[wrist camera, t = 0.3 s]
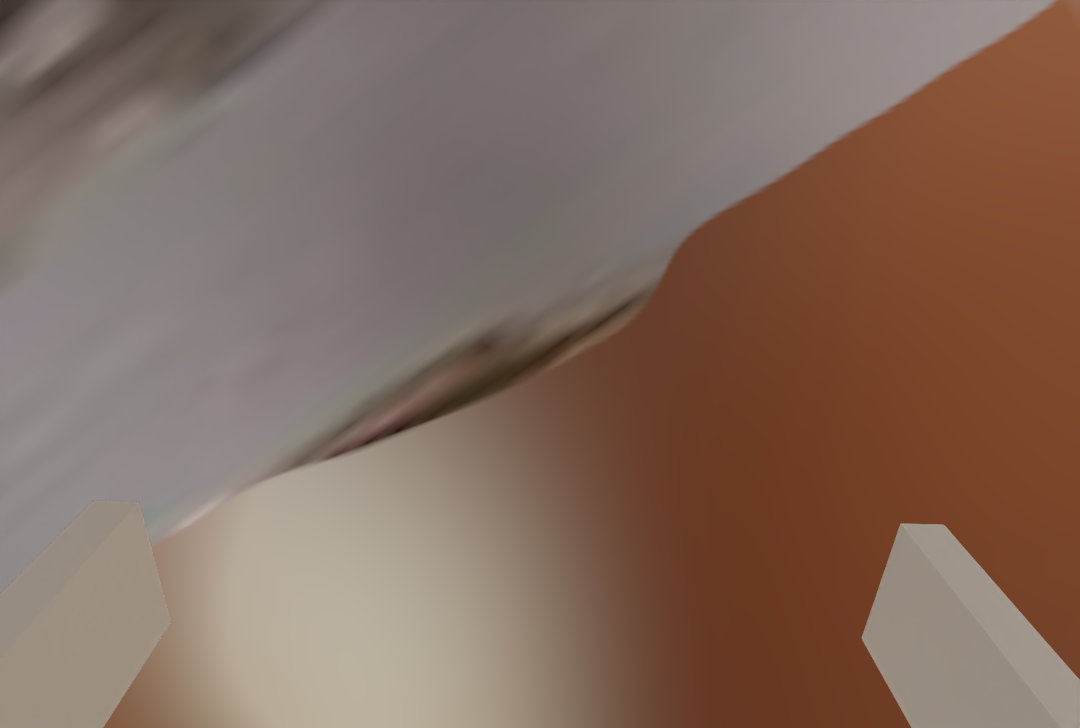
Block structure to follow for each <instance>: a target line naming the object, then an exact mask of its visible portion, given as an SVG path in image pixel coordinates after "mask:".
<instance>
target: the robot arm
mask: <svg viewBox="0 0 1080 728" xmlns="http://www.w3.org/2000/svg"><path fill="white" fill-rule="evenodd" d="M170 623H171V620H170V616H169V613H168V609H167V606H166V601H165V598H164V594H163V590H162V586H161V583H160V579H159V575H158V571H157V568H156V564H155V560H154V557H153V553H152V549H151V545H150V541H149V538H148V534H147V530H146V526H145V523H144V519H143V515H142V511H141V508H140V504H139V502H118V501H93V502H92V503H91V504H90V505H89V506H88V507H87V508H86V509H85V510H84V511H83V512H82V513H81V514H80V515H79V516H78V517H77V518H76V519H75V520H74V521H73V522H72V523H71V524H70V525H69V526H68V527H67V528H66V529H65V530H64V531H63V532H62V533H61V534H60V535H59V536H58V537H57V538H56V539H55V540H54V541H53V542H52V543H51V544H50V545H49V546H48V547H47V548H46V549H45V550H44V551H43V552H42V553H41V554H40V555H39V556H38V557H37V558H36V559H35V560H34V561H33V562H32V563H31V564H30V565H29V566H28V567H27V568H26V569H25V570H24V571H23V572H22V573H21V574H20V575H19V576H18V577H17V578H16V579H15V580H14V581H13V582H12V583H11V584H10V585H9V586H8V587H7V588H6V589H5V590H4V591H3V592H2V593H1V594H0V728H103V727H104V725H105V724H106V722H107V721H108V719H109V717H110V716H111V714H112V713H113V711H114V710H115V708H116V706H117V705H118V704H119V702H120V700H121V699H122V697H123V695H124V694H125V693H126V691H127V690H128V688H129V686H130V685H131V683H132V682H133V680H134V679H135V677H136V676H137V674H138V672H139V671H140V669H141V668H142V666H143V665H144V663H145V662H146V660H147V659H148V657H149V655H150V654H151V652H152V651H153V649H154V647H155V646H156V645H157V643H158V641H159V640H160V638H161V637H162V635H163V634H164V632H165V630H166V629H167V627H168V626H169V624H170ZM862 640H863V642H864V644H865V645H866V647H867V649H868V651H869V652H870V654H871V656H872V658H873V660H874V661H875V663H876V665H877V667H878V669H879V670H880V672H881V674H882V676H883V677H884V679H885V681H886V682H887V685H888V686H889V688H890V690H891V691H892V693H893V695H894V697H895V699H896V700H897V702H898V704H899V706H900V708H901V710H902V711H903V713H904V715H905V717H906V718H907V720H908V722H909V724H910V726H911V727H912V728H1080V680H1079V679H1078V678H1077V677H1076V676H1075V675H1074V673H1073V672H1072V671H1071V670H1070V669H1069V668H1068V666H1067V665H1066V664H1065V663H1064V662H1063V661H1062V660H1061V658H1060V657H1059V656H1058V655H1057V654H1056V653H1055V651H1054V650H1053V649H1052V648H1051V647H1050V646H1049V645H1048V644H1047V642H1046V641H1045V640H1044V639H1043V638H1042V637H1041V636H1040V634H1039V633H1038V632H1037V631H1036V630H1035V629H1034V628H1033V626H1032V625H1031V624H1030V623H1029V622H1028V621H1027V619H1026V618H1025V617H1024V616H1023V615H1022V614H1021V613H1020V611H1019V610H1018V609H1017V608H1016V607H1015V606H1014V604H1013V603H1012V602H1011V601H1010V600H1009V599H1008V598H1007V597H1006V595H1005V594H1004V593H1003V592H1002V591H1001V590H1000V588H998V586H997V585H996V584H995V583H994V582H993V581H992V579H991V578H990V577H989V576H988V575H987V574H986V572H985V571H984V570H983V569H982V568H981V567H980V566H979V564H978V563H977V562H976V561H975V560H974V559H973V558H972V556H971V555H970V554H969V553H968V552H967V551H966V550H965V548H963V546H962V545H961V544H960V543H959V542H958V540H957V539H956V538H955V537H954V536H953V535H952V533H951V532H950V531H949V530H948V529H947V528H946V527H945V525H936V524H900V527H899V530H898V533H897V536H896V539H895V542H894V545H893V548H892V551H891V554H890V557H889V559H888V562H887V565H886V568H885V571H884V574H883V577H882V580H881V583H880V587H879V589H878V592H877V595H876V598H875V601H874V604H873V607H872V610H871V613H870V615H869V618H868V621H867V624H866V627H865V630H864V633H863V636H862Z"/></svg>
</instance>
